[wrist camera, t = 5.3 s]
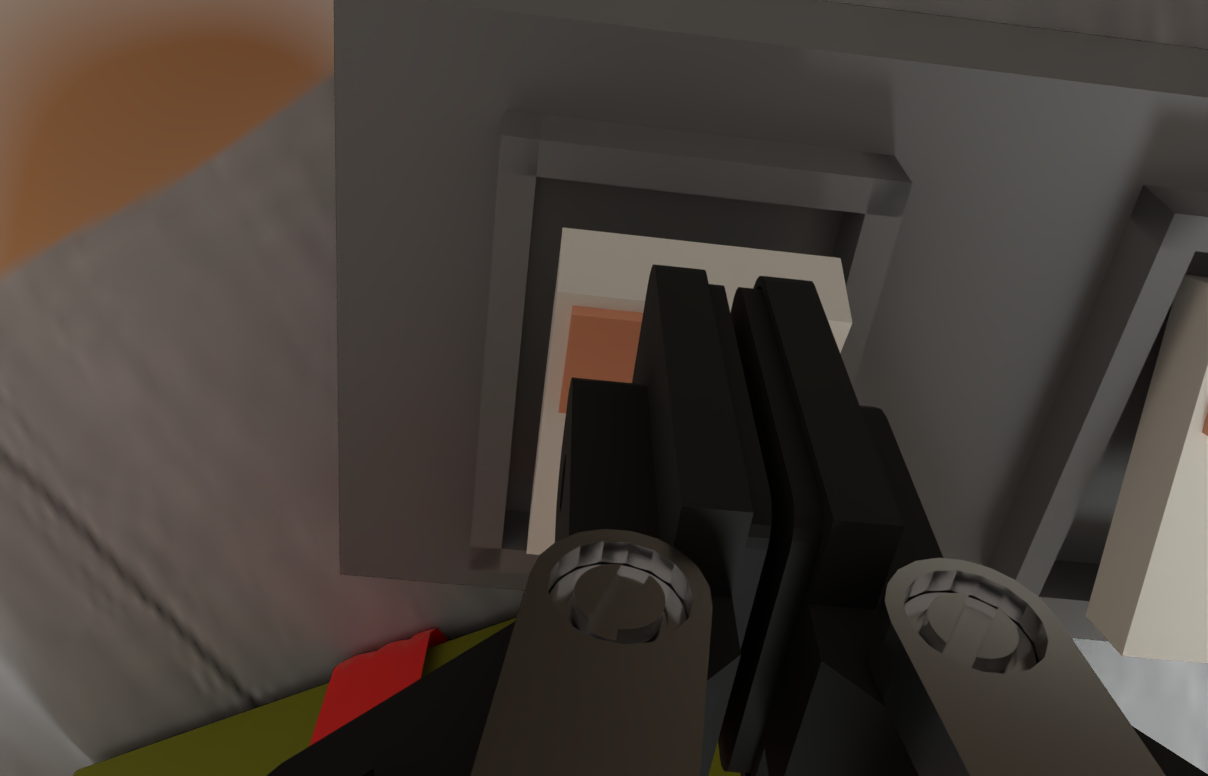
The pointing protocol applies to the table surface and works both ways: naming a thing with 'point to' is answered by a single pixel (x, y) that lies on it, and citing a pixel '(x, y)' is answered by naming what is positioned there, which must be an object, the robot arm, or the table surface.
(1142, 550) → the rocker
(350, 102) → the power strip
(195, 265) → the table surface
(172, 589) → the table surface
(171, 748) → the gift box
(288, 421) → the table surface
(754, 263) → the rocker
